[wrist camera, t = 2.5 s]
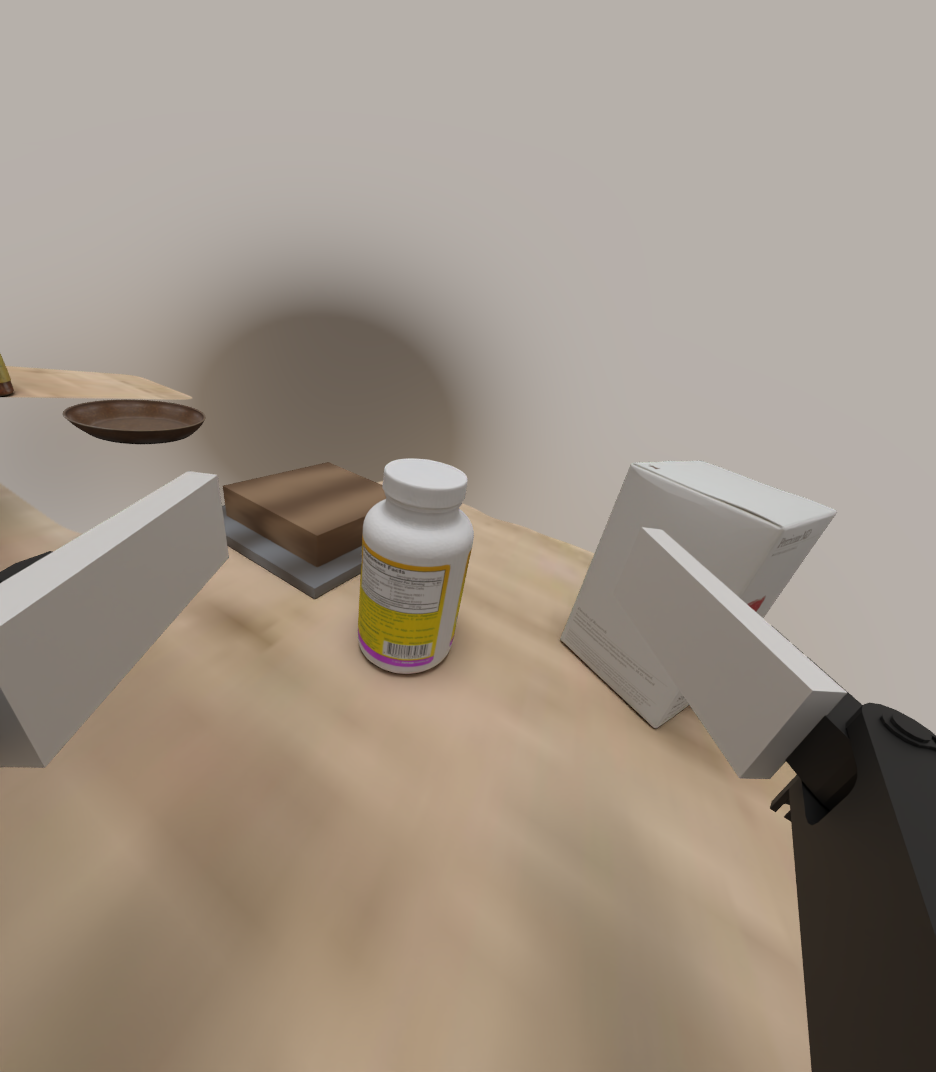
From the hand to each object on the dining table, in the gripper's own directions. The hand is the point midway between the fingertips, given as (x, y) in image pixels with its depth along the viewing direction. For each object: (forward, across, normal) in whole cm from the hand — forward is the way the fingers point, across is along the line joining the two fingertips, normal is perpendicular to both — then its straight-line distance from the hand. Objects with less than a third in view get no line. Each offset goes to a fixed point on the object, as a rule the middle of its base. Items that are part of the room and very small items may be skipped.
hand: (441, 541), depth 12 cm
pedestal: (+25, -10, -14) cm, 30 cm away
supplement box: (+10, +18, -14) cm, 25 cm away
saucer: (+46, -38, -14) cm, 62 cm away
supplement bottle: (+10, 0, -14) cm, 17 cm away
